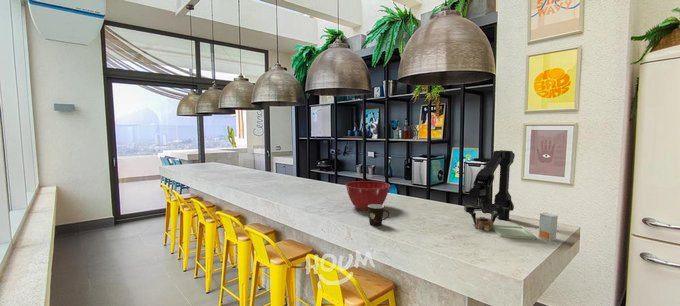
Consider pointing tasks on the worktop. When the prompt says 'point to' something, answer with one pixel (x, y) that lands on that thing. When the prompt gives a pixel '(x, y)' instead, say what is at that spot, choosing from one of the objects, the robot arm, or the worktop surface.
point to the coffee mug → (376, 214)
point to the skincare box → (548, 226)
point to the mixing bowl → (367, 193)
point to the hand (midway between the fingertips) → (483, 225)
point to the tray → (513, 231)
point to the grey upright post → (481, 220)
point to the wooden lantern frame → (484, 224)
